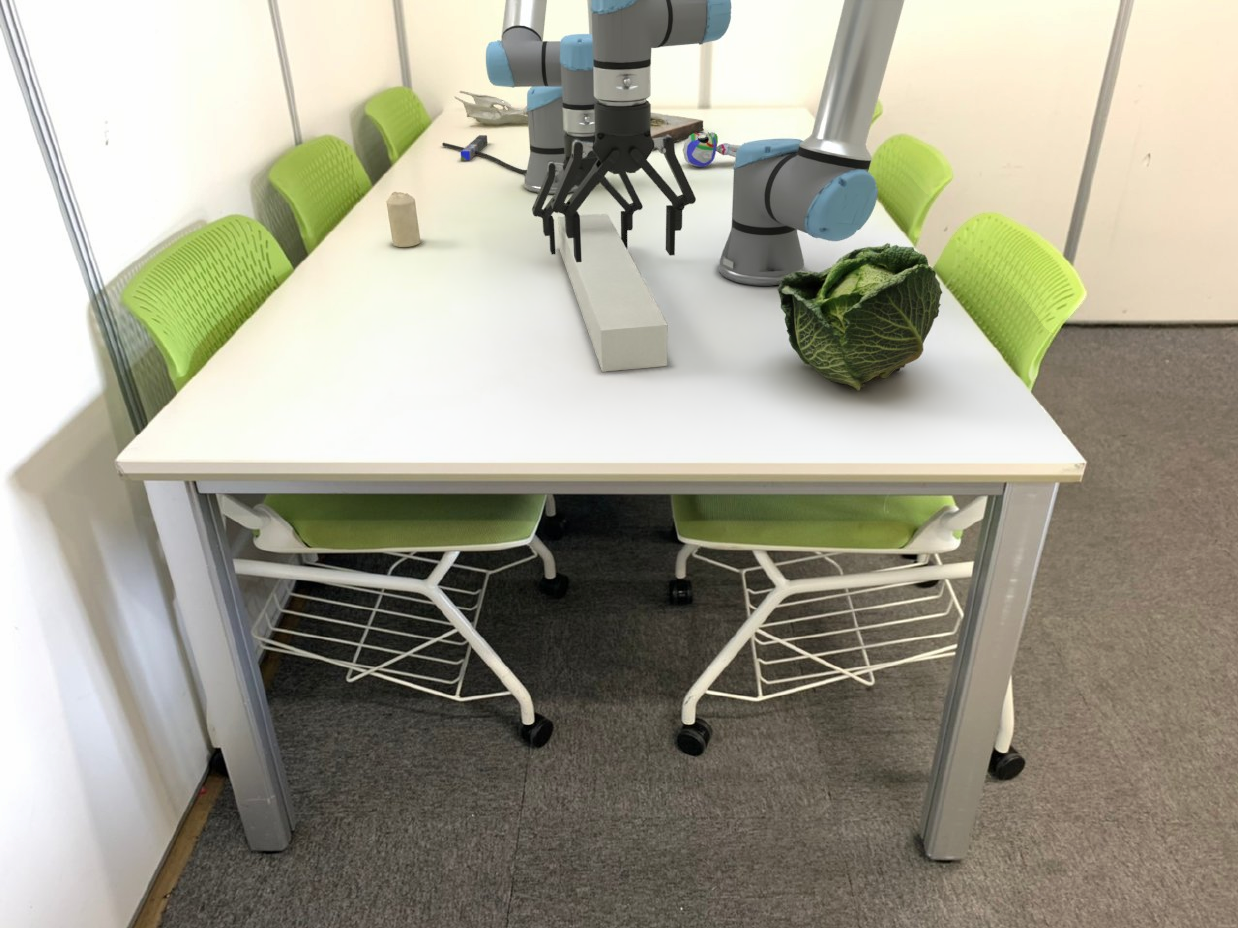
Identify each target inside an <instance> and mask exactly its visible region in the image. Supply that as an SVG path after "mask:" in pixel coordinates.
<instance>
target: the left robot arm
mask: <svg viewBox="0 0 1238 928" xmlns="http://www.w3.org/2000/svg"><path fill="white" fill-rule="evenodd" d="M586 1H587V4H586V5H587V19H588V20H587V21H588V33H576V34H574V33H573V34H568V35H565V36H562V38H561V39H560V40H555V41H554V40H551V41H549V40H544V34H545V33H544V32H545V25H546V15H547V14H546V13H547V3H548V0H505V4H504V12H503V19H502V20H503V21H502V29H501V39H499V40H496V41H495V40H494V41H490V42H489V43H488V44H487V46H486V49H485V68H486V69H485V70H486V74H487V78H488V80H489V82H490V83H491V84H492V85H493V86H495V87H503V88H504V87H506V88H527V87H528V88H529V89H528V90H527V93H526V106H527V108H526V110H527V113H528V123H527V125H528V126H527V127H528V140H529V141H528V142H529V157H528V162H527V168H526V169H521V168H519V167H516V166H514V165H512V164H509V163H506V162H504V161H503V160H501V159H499V158H497V157H495V156H492V155H490V154H487V153H484V152H481V151H479V152H478V151H475V154H476V155H475V156H479V157H483V158H485V159H488V160H490V161H493V162H495V163H497V164H499V165H501V166H502V167H504V168H506V169H509V170H511V171H513V172H516V173H520V174H524V180H523V183H524V188H525V189H526V190H527V191H530V192H531V193H535V194H536V193H537V195H536V198H535V200H534V203H533V205H532V208H531V213H532V215H533V216H534V217H536V218H537V217H538V218H541V219H542V232H543V234H544V237H549V239H548V240H549V251H550V254H551V255H556V254H557V253H556V236H555V234H556V233H555V219H554V216H553V214H554V213H555V212H554V211H553V209H552V206H551V201H552V199H553V197H554V194H555V192H556V190H557V187H558V185H559V183H560V180H561V178H562V176H563V173H564V171H565V169H566V166H567V164H568V162H569V159H570V157H571V150H572V141H573V140H574V139H579V140H580V141H585V142H593V140H594V137H595V115H594V105H595V104H596V102H597V101H599V100H598V99H596V98H595V97H594V73H593V60H594V59H593V39H592V13H591V10H590V7H591V0H586ZM441 145H442V146H443V147H445V148H449V149H453V150H458V151H460V152H461V151H462V150H463V149H464V148H465V147H463V146H459V145H455V144H450V143H447V142H442V144H441ZM597 160H598V158H597V156H596V155H595V154H594V152H593V151H590V152H589V153H588V155H587V157H586V158H583V159H582V162H581V165H580V168H579V170H578V172H577V175H576V177H575V179H574V182H573V184H572V186H571V188H570V191H569V193H568V194H570V193H574V192H575V191H576V189H577V188H578V187H579V185H580V184H581V183H582V181H583V180H584V179H585V177H586V176H587V175H588V173H589V172H590V171H591V169H592V167H593V165H594V164H595V162H596V161H597ZM618 176H619V178H620V180H621V182H622V184H623V186H624V188H625V190H626V191H627V193H628V195H629V198H630V199H631V201H632V202H631V203H629V202H628V201H627V200H626V199H625V197H624V196H623V195H622V194H621V193H620V192H619V191H618V190H617V189H616V187H615V186H614V185H613V184H612V183H611V182H610V180H609V179H608V178H607V177H606V175H605V176H604V177H603V178H602V179H601V180H600V181H599V182H598V184H597V185H596V186H598V185H599V184H601V186H602V187H603V188H604V189H605V190H606V192H608V194H609V195H611V197H612V198H613V199H614V200H615V201H616V203H618V205H619V206H620V207H621V208H622V209H623V210H620V238H621V240H622V241H623V243H624V245H625V247H626V249H627V250H628V231H632V230H633V227H634V213H635V212H637V211H640V210H642V209H643V204H642V202H641V199H640V198H639V196H638V194H637V192H636V190H635V188H634V186H633V183H632V182H631V180H630V178H629V176H628V173H627V172H623V173H620V174H618ZM549 195H553V196H552V197H551V198H550V200H549V201H548V202H547V204H546V205H545V203H546V200H547V198H548V196H549ZM544 205H545V206H544Z"/></svg>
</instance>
